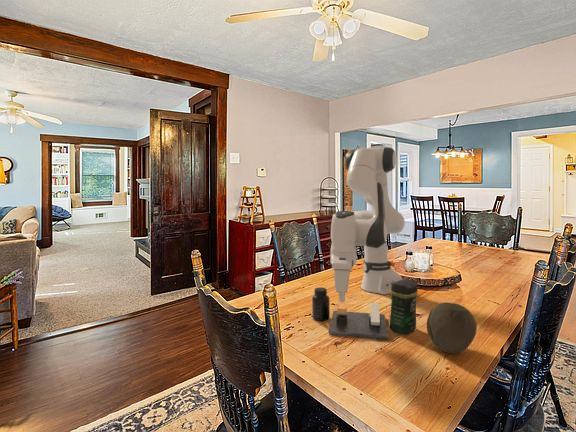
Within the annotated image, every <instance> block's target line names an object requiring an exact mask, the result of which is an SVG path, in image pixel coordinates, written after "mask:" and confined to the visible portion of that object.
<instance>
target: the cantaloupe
mask: <svg viewBox="0 0 576 432" xmlns="http://www.w3.org/2000/svg"><path fill="white" fill-rule="evenodd" d="M477 330H478V325H477V321H476V318H475V317H474V315H473V314H472V312H471V311H470V310H469V309H468V308H467V307H466V306H464V305H461V304H459V303H454V302H449V301H448V302H446V301H445V302H440V303H438V304H436V305H435V306H434V307H433V308H432V309H431V310H430V312H429V313H428V316H427V319H426V332H427V336H428V338H429V339H430V341H431V343H433V345H434V346H435V347H436V348H438V349H440V350H442V351H444V352H445V353H448V354H458V353H460V352H463V351H465V350H466V349H468V347H470V345H471V344H472V343H473V341H474V339H475V338H476V334H477Z"/></svg>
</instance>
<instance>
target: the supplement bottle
mask: <svg viewBox="0 0 576 432" xmlns="http://www.w3.org/2000/svg"><path fill="white" fill-rule="evenodd" d="M313 292H314V295H313V296H312V298H311V305H312V306H311V310H312V311H311V312H312V313H311V314H312V319H313V321H315V322H321V323H322V322H327V321H329V320H330V317H331V315H330V313H331V312H330V310H331V309H330V296H329V295H328V291H327V288H326V287H316V288H314V291H313Z"/></svg>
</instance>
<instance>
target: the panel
mask: <svg viewBox="0 0 576 432" xmlns="http://www.w3.org/2000/svg"><path fill="white" fill-rule="evenodd" d="M336 312H337V310H333V312H332V314H331V315H332V317H331V321H330V324H329V329H328V335H329V336H335V337H336V336H337V337H347V338H348V337H349V338H360V339H369V340H370V339H371V340H380V341H388V339H389V337H388V336H389V335H388V330H387V329H388V328H387V323H386V315H385V314H384V313H383V314H381V313H379V315H381V318H380V326H378V325H371V317H369V314H371V312H370V313H368V312H357V311H356V312H355V311H347V312H346V313H348V315H336Z"/></svg>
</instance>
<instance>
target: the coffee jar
mask: <svg viewBox="0 0 576 432" xmlns="http://www.w3.org/2000/svg"><path fill="white" fill-rule="evenodd" d="M390 294H391V304H390V318H389V329H390V330H391V331H392V332H394V333H395V334H397V335H404V336H406V335H407V336H408V335H410V334H412V333H414V332H415V331H416V329H417V297H418V283H417V281H415V280H414V279H409V278H406V277H405V278H402V280H399V281H396V282H394V283H392V285H391V293H390Z"/></svg>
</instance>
